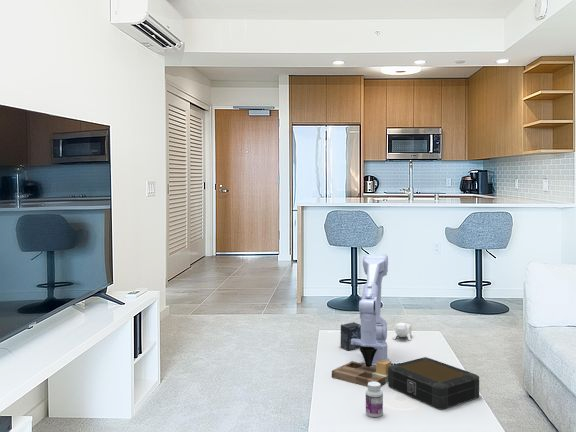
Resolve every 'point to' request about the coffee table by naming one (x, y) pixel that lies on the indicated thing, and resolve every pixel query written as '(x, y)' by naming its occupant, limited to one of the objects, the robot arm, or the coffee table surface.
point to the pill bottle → (374, 400)
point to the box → (350, 335)
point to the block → (382, 367)
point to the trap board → (359, 374)
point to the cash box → (433, 382)
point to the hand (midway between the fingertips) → (368, 366)
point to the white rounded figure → (402, 330)
